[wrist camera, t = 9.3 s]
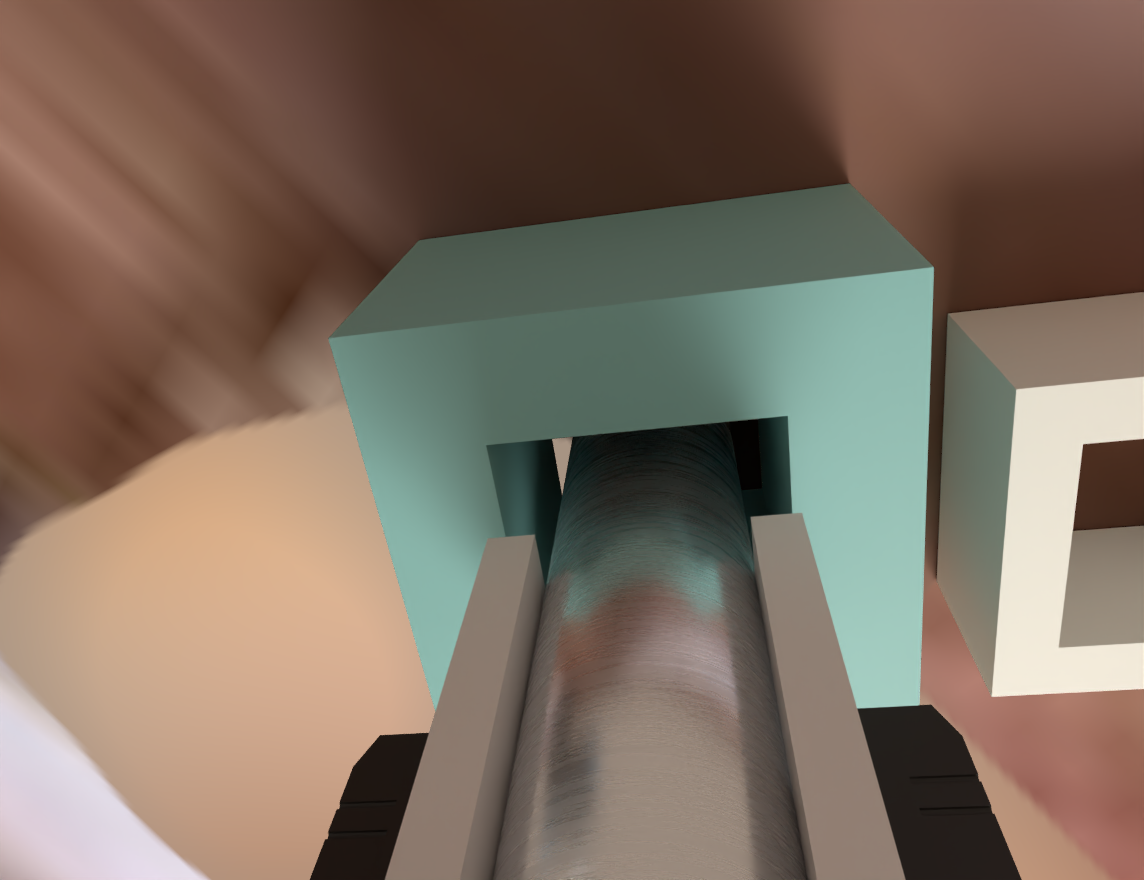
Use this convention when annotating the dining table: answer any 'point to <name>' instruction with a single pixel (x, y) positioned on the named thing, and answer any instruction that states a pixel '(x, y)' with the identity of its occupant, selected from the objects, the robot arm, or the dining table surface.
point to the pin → (651, 679)
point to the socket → (657, 393)
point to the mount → (1041, 494)
